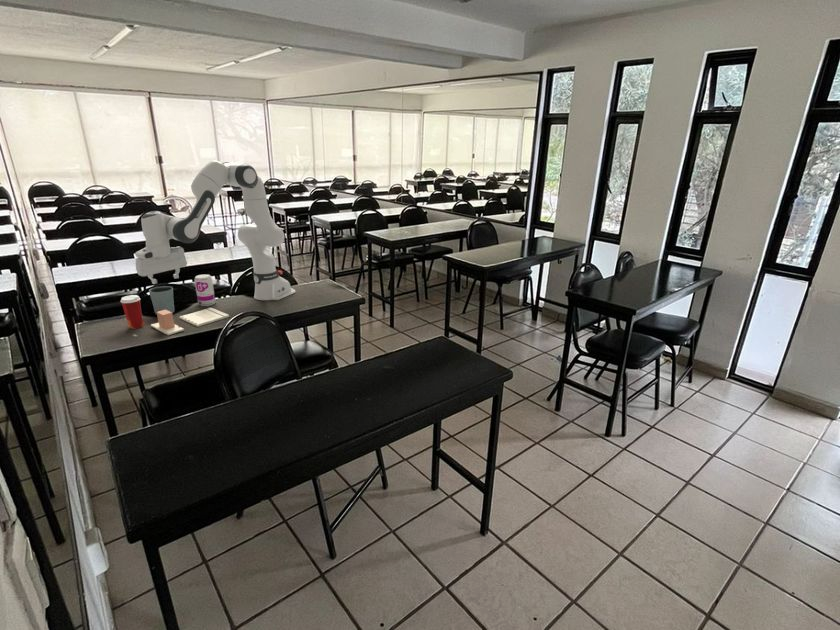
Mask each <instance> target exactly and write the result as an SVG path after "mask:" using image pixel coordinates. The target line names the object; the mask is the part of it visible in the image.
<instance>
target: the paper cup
mask: <svg viewBox="0 0 840 630" xmlns="http://www.w3.org/2000/svg"><path fill="white" fill-rule="evenodd" d="M119 302H120V303H121V305H122V309H123V311H124V315H125V318H126V322H127V324H128V328H129V329H132V330H133V329H134V330H135V329H136V330H137V329H140V328H142V327H144V318H143V313H142V307H141V305H142V304H141V298H140V296H139V295H137V294H130V295H126V296H122V297H121V299H120V301H119Z"/></svg>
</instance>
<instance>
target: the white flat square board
mask: <svg viewBox="0 0 840 630" xmlns="http://www.w3.org/2000/svg"><path fill="white" fill-rule="evenodd" d="M229 317H230V315H229V314H228V313H225V312H223V311H221V310H218V309H216V308H213V307H208V308H204V309H201V310H198V311H194V312H192V313H187V314H184V315H180V316H179V319H180V320H182V321H184V322H186V323H189V324H191V325H193V326H194V327H201V326H206V325H208V324H211V323H214V322H217V321H221V320H224V319H227V318H229Z"/></svg>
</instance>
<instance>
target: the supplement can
mask: <svg viewBox="0 0 840 630" xmlns="http://www.w3.org/2000/svg"><path fill="white" fill-rule="evenodd" d="M213 283H214V282H213V278H212V276H211V275H210V274H209V273H208V274H202V273H201V274H198V275H196V276H195V277H194V286H195V292H196V297H197V303H198V305H199V306H200V307H210V306H213V305H214V304H215V303H216V296H215V290H214V289H215V288H214V284H213Z"/></svg>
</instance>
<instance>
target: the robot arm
mask: <svg viewBox="0 0 840 630" xmlns="http://www.w3.org/2000/svg"><path fill="white" fill-rule="evenodd" d="M191 182H192V183H191V185H190V186H191V187H190V188H191V191H192V194H193V195H194V196H195V198H196V200H195V201H196V202H195V204H194V205H193V207H192V209H191V210H190V212H189V214H187V216H186V217H183V218H182V217H177V216H173V215H169V214H166V213H163V212H161V211H159V210H153V211H148V212H145V213H143V214H142V216H141V219H140V221H141V229H142V233H143V237H144V239H145V247H144V248H142V249H140V250H138V251H136V252H135V254H134V255H135V257H136V259H135V269H136V270H135V271H136V274H138V276H140V277H148V279H150V281H151V283H152V284H153V285H156V284H158V279H156V278H154V275H155V274H160V273H164V272H168V271H173V270H174V271H175V272H174V273H173V275H172V277H173V278H174V279H179V278H180V276H179V273H180V271H181V268H185V267H187V265H188V262H187V261H188V260H187V258H186V255H185V249H184V247H182V246H176V247H175V246H174V247H171V246H170V240H175V241H179V242H181V243H184V244H192V243H194V242H196V240H197V239H198V238H199V235H200V233H201V229H202V225H203V224H204V222H205V220H206V219H207V217H208V215H209V214H210V212H211V210H212V208H213V206H214V204H215V201H216V198H217V196H218V194H219V193H220V191H221V190H222V188H223V187H224V186H225V185H226V186H232V187H237V188H240V189H241V191H242V199H243V203H244V204H243V205H244V210H245V214H246V216H247V217H248V218H249V219H251V220H252V221H253V222H254V223H247V224H242V225H240V227H239V228H238V230H237V237H238V240H239V241H240V242H241V243H242V244H243V245H244V246H245V247H246V248H247V250H248V252H249V254H250V257H251V259H252V260H251V261H252V265H253V281H254V284H255V285H254V296H253V298H254V299H255V300H259V301H279V300H281V299H283V298H286V297H289V296H291V295H293V294H296V289H294V288H292V287H291V286H292V285H291V283H290V282H289V281H288V280H287V279H285V278H284V277H281V276H280V275H283V271H282V270H279V269H278V270H277V268H276V261H275V260H276V259H275V256H274V255H273V253H271V252H270V250H268V248H267V247H269V248H276V247H280V246H282V244H283V243H284V242H285V233H284V231H283V229H282V228H281V227H279V226H278V225H277V224H276V223H275V220H274V219H273V218H272V216H271V213H270V211H269V204H268V198H267V193H266V189H265V185H264V182H263V180H262V178H261V177H260V176H258V174H257V171H256V170H255V168H254V167H253V166H251V165H249V164H247V163H242V162H238V161H235V162H229V161H228V162H227V161H226V162H222V161H219V160H215V159H214V160H211V161H209V162H208V163H207V164H206V165H205V166H204V167H202V169H201V170H200V171H199V172H198V173H197V174H196V176H195V177H194V178H193V181H191Z"/></svg>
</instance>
